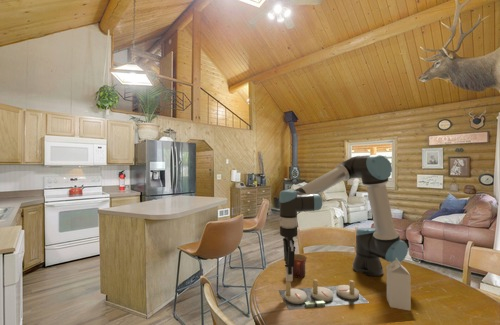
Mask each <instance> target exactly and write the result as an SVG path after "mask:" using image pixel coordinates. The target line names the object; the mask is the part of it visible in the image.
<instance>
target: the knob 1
mask: <svg viewBox="0 0 500 325" xmlns="http://www.w3.org/2000/svg"><path fill="white" fill-rule="evenodd" d="M291 282H292V281H286V280H285V290H286V291H285V299H286V300H287V301H288V302H290V303H294V304H302V303H304V302H306V300H307V295H306V293H305V292H304V291H302V290H300V289H301V288H292V286H291Z"/></svg>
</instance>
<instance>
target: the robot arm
mask: <svg viewBox="0 0 500 325" xmlns="http://www.w3.org/2000/svg"><path fill="white" fill-rule="evenodd" d="M392 172H393V167H392V163H391V162H390V160H389V158H387V157H385V155H380V154H368V155H365V154H364V155H356V156H353V157H350V158H348V159H346V160H344V161H342V162H340V163H339V164H337V165H336V166H335V168H334V169H331V170H329V171H328V172H326V173H324V174H322V175H320V176H318V177H317V178H315V179H313V180H311V181H310V182H308V183H305V184H304V185H302V186H300V187H299V188H298V187H297V188H296V189H294V190H290V189H285V190H281V191H280V192H279V196H278V197H279V202H278V203H279V219H278V221H279V225H280V226H279V235H280V236H281V237H283V238H282V241H283V259H284V264H285V265H284V266H285V282H286V281H290V282H293V281H294V280H293V279H294V278H293V267H294V255H295V254H296V253H295V252H296V246H295V240H294V237H297V236H298V227H297V226H298V213H300V212H315V211H320V210H321V209H322V207H323V199H322V197H321V195H320V194H321V193H324V192H326V191H327V190H329V189H330V188H333V187H334V186H336V185H337V184H340V183H342V182H343V181H345V182H346V181H349V180H352V179H361V184H362V185H364V186H365V187H366V191H367V197H368V201H369V205H370V210H371V216H372V220H373V221H372V222H373V225H374V227H373V228H372V227H361V228H357V229H356V232H355V233H356V234H355V252H356V253H355V257H354V259H353V261H352V269H353V270H354V271H355V272H357V273H362V274H364V276H371V277H380V276H382V275H383V274H384V269H383V268H384V267H383V265H382V262H381V260H380V259H382V260H385V261H387V262H388V263H391V262H393V261H395V260H396V258H397V259H398V261H399V262H400V263H402V262H403V261H404V260H405V259H406V257H407V256H408V250H409V248H408V244H407V243H406V242H405V241H404V240H402V239H401V238H400V233H399V232H398V231H397V230H396V229H395V225H394V219H393V215H392V209H391V204H390V199H389V195H388V189H387V183H388V182H389V178H390V177H391V175H392ZM379 275H380V276H379Z"/></svg>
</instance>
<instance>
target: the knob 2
mask: <svg viewBox="0 0 500 325" xmlns="http://www.w3.org/2000/svg"><path fill="white" fill-rule="evenodd" d="M348 285H349V286H348ZM336 286H337V288H336V292H337V294H338V295H339V296H341V297H343V298H346V299H357V298H358V297H359V294H360V291H359V289H357V288H356V287H355V280H353V279H349V284H340V285H336Z"/></svg>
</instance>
